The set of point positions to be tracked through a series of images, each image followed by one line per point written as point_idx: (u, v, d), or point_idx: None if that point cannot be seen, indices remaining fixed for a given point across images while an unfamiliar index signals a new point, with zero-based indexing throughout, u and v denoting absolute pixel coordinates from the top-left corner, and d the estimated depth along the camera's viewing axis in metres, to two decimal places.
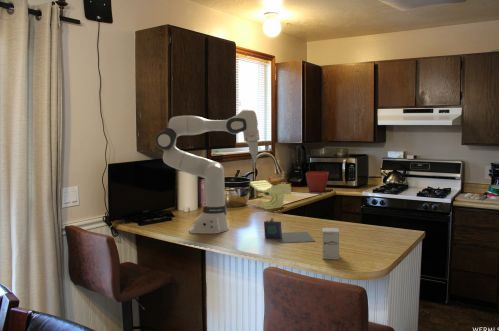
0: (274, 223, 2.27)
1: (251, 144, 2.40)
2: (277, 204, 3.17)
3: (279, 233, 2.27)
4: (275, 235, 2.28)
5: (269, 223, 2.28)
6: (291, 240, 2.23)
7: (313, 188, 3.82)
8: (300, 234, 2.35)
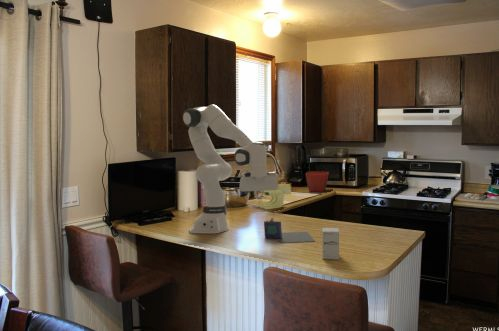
0: (274, 223, 2.27)
1: (240, 179, 2.27)
2: (277, 204, 3.17)
3: (279, 233, 2.27)
4: (275, 235, 2.28)
5: (269, 223, 2.28)
6: (291, 240, 2.23)
7: (313, 188, 3.82)
8: (300, 234, 2.35)
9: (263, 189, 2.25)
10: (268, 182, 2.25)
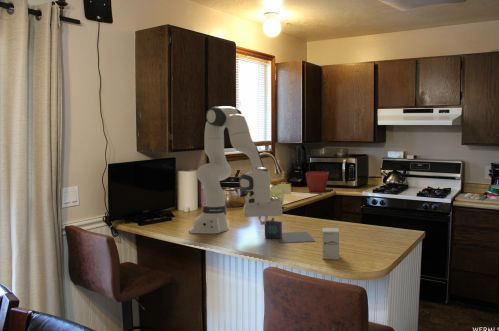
0: (275, 223, 2.27)
1: (244, 205, 2.28)
2: None
3: (279, 233, 2.27)
4: (275, 235, 2.28)
5: (270, 223, 2.28)
6: (291, 240, 2.23)
7: (313, 188, 3.82)
8: (300, 234, 2.35)
9: (267, 214, 2.26)
10: (272, 207, 2.26)
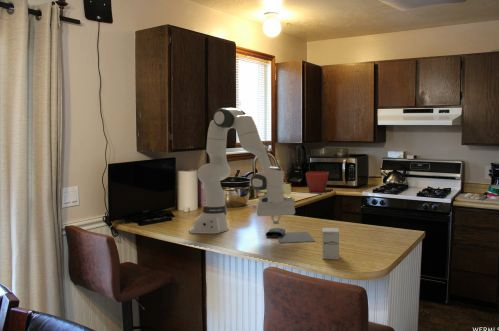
0: (279, 228, 2.38)
1: (257, 204, 2.29)
2: None
3: (281, 231, 2.32)
4: (277, 231, 2.32)
5: (274, 228, 2.39)
6: (291, 240, 2.23)
7: (313, 188, 3.82)
8: (300, 234, 2.35)
9: (280, 214, 2.27)
10: (285, 207, 2.27)
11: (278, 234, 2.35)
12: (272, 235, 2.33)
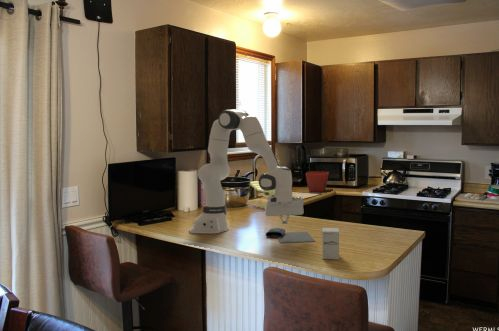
0: (279, 228, 2.38)
1: (266, 204, 2.29)
2: None
3: (281, 231, 2.32)
4: (277, 231, 2.32)
5: (274, 228, 2.39)
6: (291, 240, 2.23)
7: (313, 188, 3.82)
8: (300, 234, 2.35)
9: (288, 214, 2.27)
10: (293, 207, 2.27)
11: (278, 234, 2.35)
12: (272, 235, 2.33)
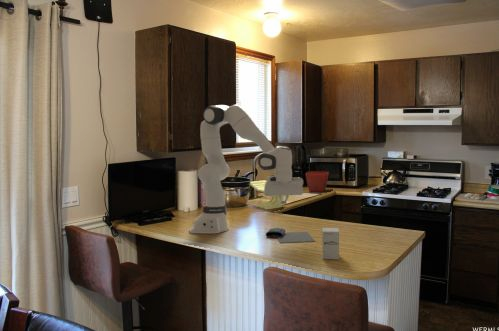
0: (279, 228, 2.38)
1: (265, 183, 2.28)
2: (277, 204, 3.17)
3: (281, 231, 2.32)
4: (277, 231, 2.32)
5: (274, 228, 2.39)
6: (291, 240, 2.23)
7: (313, 188, 3.82)
8: (300, 234, 2.35)
9: (288, 194, 2.26)
10: (293, 187, 2.26)
11: (278, 234, 2.35)
12: (272, 235, 2.33)
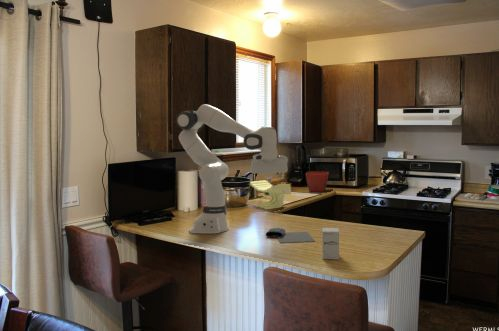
0: (279, 228, 2.38)
1: None
2: (277, 204, 3.17)
3: (281, 231, 2.32)
4: (277, 231, 2.32)
5: (274, 228, 2.39)
6: (291, 240, 2.23)
7: (313, 188, 3.82)
8: (300, 234, 2.35)
9: (273, 171, 2.38)
10: (278, 165, 2.38)
11: (278, 234, 2.35)
12: (272, 235, 2.33)
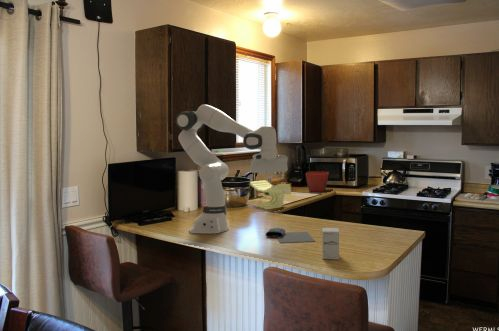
0: (279, 228, 2.38)
1: None
2: (277, 204, 3.17)
3: (281, 231, 2.32)
4: (277, 231, 2.32)
5: (274, 228, 2.39)
6: (291, 240, 2.23)
7: (313, 188, 3.82)
8: (300, 234, 2.35)
9: (273, 171, 2.38)
10: (278, 164, 2.38)
11: (278, 234, 2.35)
12: (272, 235, 2.33)
